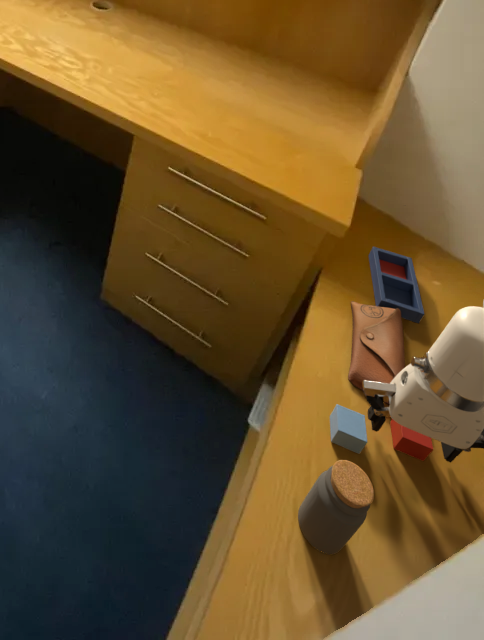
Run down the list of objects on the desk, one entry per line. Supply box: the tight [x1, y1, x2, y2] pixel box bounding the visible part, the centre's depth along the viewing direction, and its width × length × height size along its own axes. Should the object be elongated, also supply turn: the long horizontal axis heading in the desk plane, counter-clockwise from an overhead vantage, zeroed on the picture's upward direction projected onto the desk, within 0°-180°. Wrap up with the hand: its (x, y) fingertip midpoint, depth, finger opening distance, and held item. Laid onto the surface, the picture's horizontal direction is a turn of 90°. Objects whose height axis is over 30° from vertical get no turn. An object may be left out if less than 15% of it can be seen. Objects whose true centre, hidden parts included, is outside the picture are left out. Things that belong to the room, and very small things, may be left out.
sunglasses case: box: [347, 300, 406, 405], centre depth 92 cm, size 18×7×7 cm, turn 151°
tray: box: [368, 246, 426, 324], centre depth 103 cm, size 7×13×3 cm, turn 156°
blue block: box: [329, 403, 368, 455], centre depth 80 cm, size 4×4×4 cm
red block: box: [389, 418, 434, 462], centre depth 80 cm, size 4×4×4 cm
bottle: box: [297, 459, 375, 555], centre depth 68 cm, size 6×6×15 cm
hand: (408, 435), depth 80 cm, fingers open, 9 cm apart
